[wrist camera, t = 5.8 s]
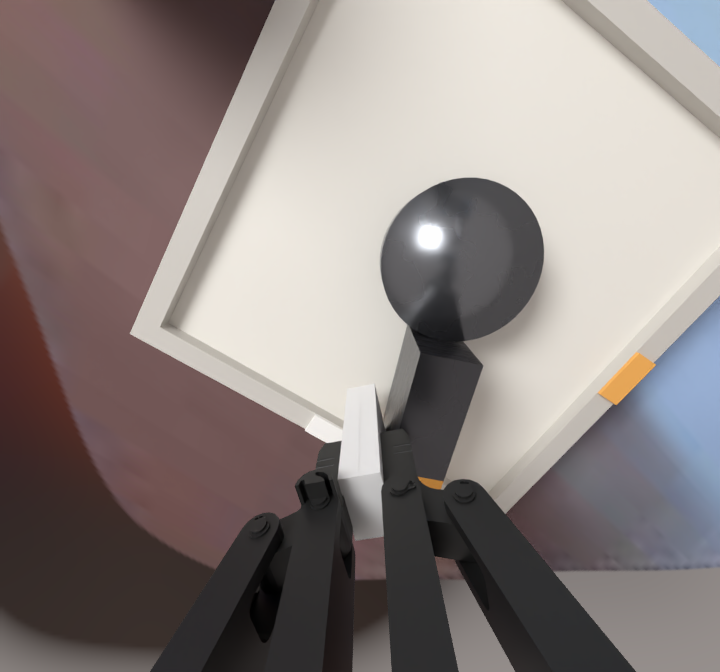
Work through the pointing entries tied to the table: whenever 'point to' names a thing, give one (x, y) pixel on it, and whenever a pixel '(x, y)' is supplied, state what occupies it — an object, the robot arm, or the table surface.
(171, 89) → the table surface
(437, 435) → the dark grey handled piece
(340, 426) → the white square tray
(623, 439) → the table surface
